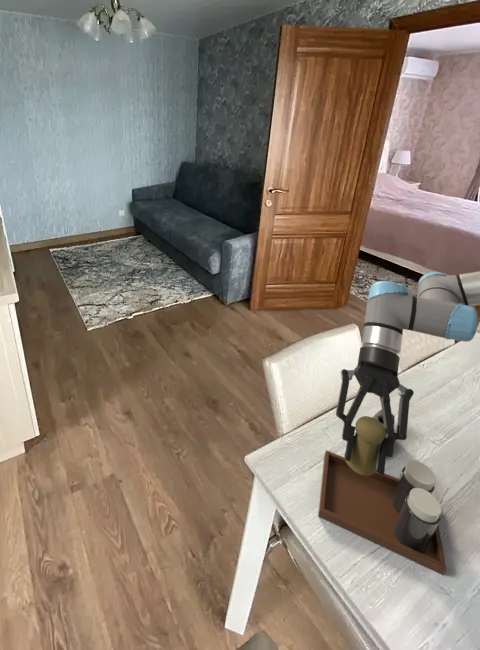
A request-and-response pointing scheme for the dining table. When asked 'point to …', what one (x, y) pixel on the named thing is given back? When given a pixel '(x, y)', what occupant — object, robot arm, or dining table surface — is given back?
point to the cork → (366, 446)
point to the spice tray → (370, 510)
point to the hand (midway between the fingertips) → (363, 466)
